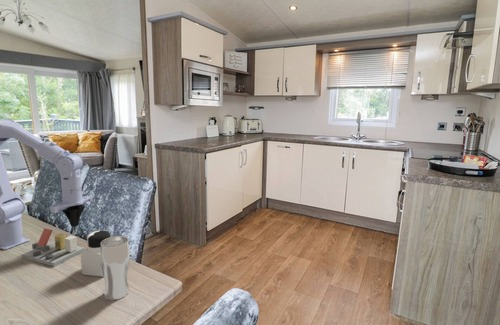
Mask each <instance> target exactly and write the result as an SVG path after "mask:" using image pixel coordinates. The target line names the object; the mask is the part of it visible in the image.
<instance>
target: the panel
mask: <svg viewBox="0 0 500 325" xmlns="http://www.w3.org/2000/svg"><path fill="white" fill-rule="evenodd" d="M37 244H38V242H34V243H32V244H31V247H32V249H31V250H30V251H27V252H24V253H22V258H23V259H26V260H29V261H32V262H33V261H34V262H35V263H36V262H37V263H40V264H44V265H47V266H51V267H56V266H58V265H61V264H63V263H64V262H66V261H68V260H70V259H72V258H75V257H76V256H78V255H81V252H83V251H84V250H86V247H84V246H80V245H77V249H76V250H74V251H72V252H68V251H65V248H63V249H61V250H60V249H56V248H55V240H53V241H51V242H47V245H46V246H44V247H43V250H42V249H38V248H35V246H36V245H37Z"/></svg>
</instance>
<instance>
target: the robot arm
mask: <svg viewBox="0 0 500 325" xmlns="http://www.w3.org/2000/svg"><path fill="white" fill-rule="evenodd" d="M10 139H15V140H16V141H18V142H21V143H22V144H24V145H26V146H28V147H30V148H32V149H34V150H36V151H37V155H38V156H39V157H41V158H43V159H44V160H46V161H48V162H49V163H51V164H53V165H54V166H55V168H56V170H57V171H58V172H59V176H60V182H61V184H60V185H61V194H62V196H61V197H62V201H60V202H59V203H57V204H55V205H52V206H49V207H50V208H49V209H50V213H52V214H57V213H59V212H63V214H64V215H65V216H66V218H67V220H68V222H69V225H70V227H74V228H76V227H78V226H79V224H80V221H81V216H82V214H83V212H84V209H85V208H86V207H85V205H84V204H85V203H88V202H93V200H94V199H93V195H84V196H83V193H82V178H81V168H82V167H83V165H84V160H83V158H82V157H81V155H79V153H75V152H74V153H71V152H70V151H69V150H68V149H67V150H65V149H64V148H62V147H61V146H60V145H58V143H57V142H55V141H44V140H42V139H40V138H38V136H36V135H34V134H33V133H31V132H30V131H28V130H27V129H25V128H24V127H22V126H21V124H20V123H19V122H17V121H15V120H13V119H11V118H1V119H0V147H2V145H3V144H4V143H5V142H6V141H9V140H10ZM26 207H27V206H26V202H25V201H24V200H23V199H22V197H21V194H19V193H17V192H16V191H13V188H12V184H11V181H10V178H9V174H8V171H7V168H6V165H5V161H4V158H3V155H2V152H1V150H0V250H4V251H5V250H8V249H12V248H14V247H17V246H18V245H22V244H24V243H26V242H29V241H30V238H26V237H24V233H23V231H24V230H23V224H22V223H23V222H22V217H23V214H24V212H25V210H27V209H26Z"/></svg>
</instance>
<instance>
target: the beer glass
mask: <svg viewBox="0 0 500 325" xmlns="http://www.w3.org/2000/svg"><path fill="white" fill-rule="evenodd" d="M130 250H131V249H130V242H129V238H128V237H126V236H125V235H115V236H114V235H113V236H110V237H109V238H106V239H104V240H103V241H102V242H101V249H100V260H101V267H102V271H103V275H104V277H103V278H104V292H103V293H104V294H103V297H104V299H106V300H108V301H117V300H121V299H123V298H125V297H126V296H127V295H128V294H129V291H130V288H129V287H130V286H129V283H128V273H129V267H130V258H131V257H130V256H131V253H130V252H131V251H130Z"/></svg>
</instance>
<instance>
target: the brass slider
mask: <svg viewBox="0 0 500 325" xmlns="http://www.w3.org/2000/svg"><path fill="white" fill-rule="evenodd" d="M67 237H68V236H67V234H66V233H59V234H56V235H54V241H55V248H56V249H60V250H61V249H63V248H65V238H67Z"/></svg>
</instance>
